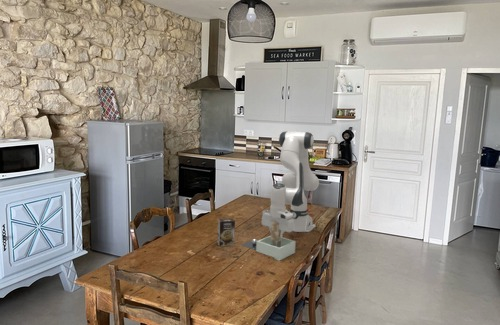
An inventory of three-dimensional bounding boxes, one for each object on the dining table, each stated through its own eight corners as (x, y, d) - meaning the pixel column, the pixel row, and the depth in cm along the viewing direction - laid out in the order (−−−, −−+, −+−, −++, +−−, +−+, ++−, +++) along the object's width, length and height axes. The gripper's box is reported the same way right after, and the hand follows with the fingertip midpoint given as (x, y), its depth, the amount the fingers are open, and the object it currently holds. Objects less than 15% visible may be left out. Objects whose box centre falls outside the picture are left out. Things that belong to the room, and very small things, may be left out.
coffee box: (219, 248, 220) (220, 221, 217) (217, 244, 226) (217, 218, 223) (234, 247, 222) (235, 220, 220) (232, 243, 228) (232, 217, 226)
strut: (270, 248, 215) (272, 221, 213) (274, 246, 218) (276, 219, 216) (276, 250, 212) (278, 223, 210) (280, 248, 216) (282, 221, 213)
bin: (272, 245, 227) (273, 234, 226) (294, 252, 217) (295, 241, 216) (256, 252, 215) (256, 241, 214) (279, 260, 205) (279, 248, 204)
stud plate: (252, 241, 233) (253, 234, 232) (268, 246, 225) (268, 238, 225) (240, 246, 223) (240, 238, 223) (255, 251, 216) (256, 244, 215)
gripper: (259, 209, 216) (258, 232, 218) (289, 217, 204) (288, 241, 206) (266, 207, 221) (265, 230, 223) (295, 215, 208) (294, 238, 210)
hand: (276, 235), depth 214 cm, fingers closed on strut, 4 cm apart
